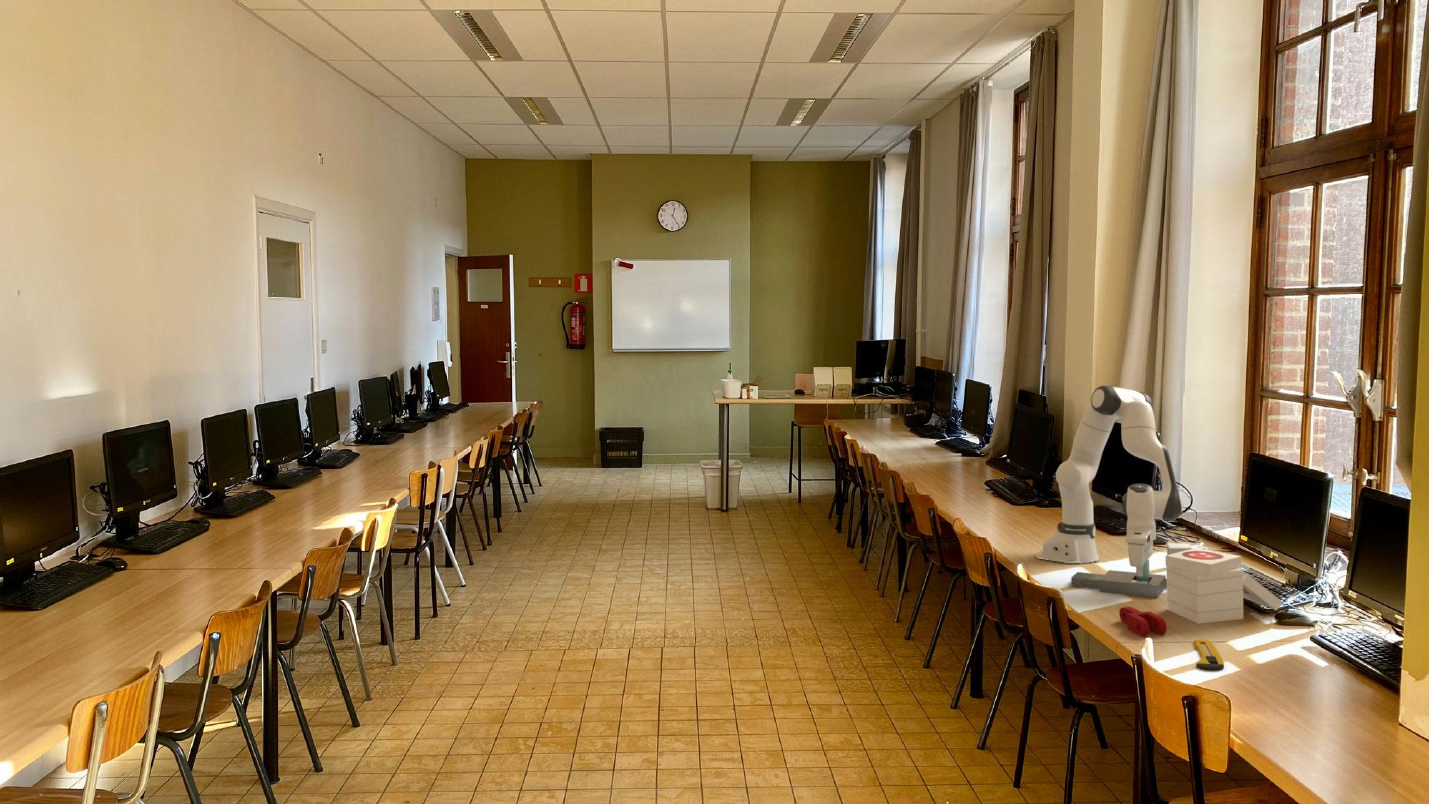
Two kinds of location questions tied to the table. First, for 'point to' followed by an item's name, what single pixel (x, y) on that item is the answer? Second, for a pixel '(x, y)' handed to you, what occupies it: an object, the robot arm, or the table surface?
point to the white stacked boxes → (1211, 586)
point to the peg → (1146, 572)
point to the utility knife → (1208, 656)
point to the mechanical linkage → (1142, 621)
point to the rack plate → (1121, 583)
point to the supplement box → (1177, 547)
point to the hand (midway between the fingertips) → (1142, 573)
